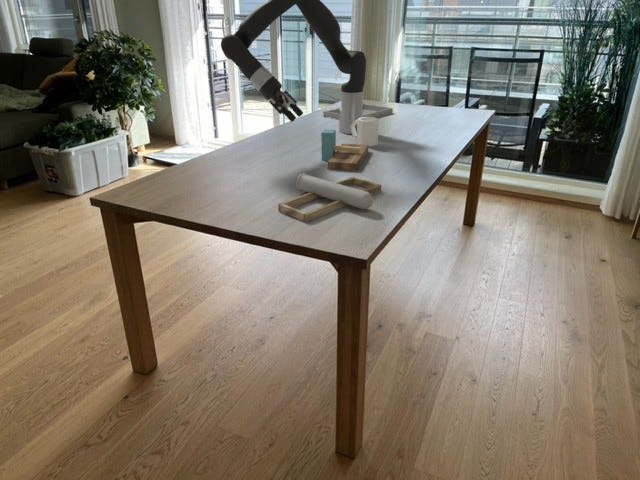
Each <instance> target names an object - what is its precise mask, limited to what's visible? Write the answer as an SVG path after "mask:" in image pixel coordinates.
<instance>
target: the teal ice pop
mask: <svg viewBox="0 0 640 480" xmlns="http://www.w3.org/2000/svg"><path fill="white" fill-rule="evenodd" d="M336 133H337V131H336V129H328V128H327V129H326V128H325V129H323V130H322V131H321V139H320V140H321V141H320V142H321V161H327V162H328V160H329V159H330V158H331V157H332V156H333V154H334V153H335V152H336V151H337V150H341V151H356V153H358V152H360V148H361V147H349V146H341V145H336V142H337V137H336V136H337V135H336Z"/></svg>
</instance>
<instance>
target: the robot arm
mask: <svg viewBox="0 0 640 480" xmlns="http://www.w3.org/2000/svg"><path fill="white" fill-rule="evenodd" d="M295 5H296V6H297V8H298V9H299V11H300V12H301V14H302V16H303V18H304V19H305V20H306V22H307V23H308V24H309V26H310V28H311V29H312V31H313V32H314V33H315V35H316V36H317V38H318V39H319V40H320V41H321V43H322V44H323V46H324V47H325V49H326V50H327V52H328V53H329V54H330V56H331V59H332V60H333V62H334V64H335V66H336V68H337V69H338V70H339V71H340V73H342V74H346V75H349V76H350V77H349V80H348V81H346V82H344V83H342V84H341V89H340V91H341V92H340V93H341V94H340V97H341V98H340V99H341V100H340V104H341V105H340V108H341V109H340V110H339V119H338V120H339V121H338V122H339V123H338V124H339V125H338V126H339V127H338V128H339V130H338V131H339V132H341V133H342V134H346V135H350V134H351V135H352V132H351V128H350V126H351V124H352V123H353V122H354V121H355V120H358V119H359V118H361V117H362V115H363V111H364V109H363V104H364V103H363V102H364V87H365V82H366V71H367V70H366V69H367V58H366V55H365V53H364V52H363V51H361V50H349V49H348V48H346V47H345V45H344V44H343V43H342V41H341V26H340V23H339V22H338V20H337V19H336V17H335V15H334V14H333V12H332V11H331V10H330V9H329V7H327V6H326V4H324V2H322V1H321V0H268V1H267V2H265V3H263V4H261V5H259V6H258V7H256V8H255V9H254V10H252V11H251V12H250V13H249V14H248V15H247V16H246V17H245V18H244V19H243V20H242V21H241V22H240V24H239V25H238V29H237V30H236V32H235V33H234V34H232V33H231V34H226V35H224V36H223V38H222V39H221V42H220V47H221V50H222V52H223V55H224V56H225V58H226V59H228V60H230V61H232V62H233V64H235V65H236V66H237V67H238V69H239V70H240V72H241V73H242V74H243V75H244V77H246V78H247V80H248V81H249V82H250V83H251V84H252V86H253V88H255V89H256V90H257V91H258V93H260V95H261V96H263V98H264V99H265V100H267V101H268V102H269V104H270V105H271V106H272V107H273V108H274V110H276V112H278V113H279V115H285V117H286V118H287V119H288V120H289V121H290V122H291V123H293V122H294V121H295V120H296V119H297V117H300V118H301V117H302V115H303V114H304V112H303V110H301V108H300V107H299V106H298V105H297V103H298V102H297V100H296V99H295V98H294V97H293V96H292V95H291V94H290V93H289V92H288V90H284V91H282V90H281V89H282V88H283V85H282V83H281V82H280V81H279V80H278V79H277V78H276V76H274V75H273V73H272V72H271V71H270V70H268V69H267V68H266V67H265V66H264V65H263V64H262V62H261V61H259V60H258V59H257V58H256V57H255V56H254V55H253V54H252V53H251V51H250V49H249V48H250V46H252V44H253V42H254V41H255V40H256V39H257V38H258V37H260V36H261V34H263V33H264V32H265V31H266V29H268V27H269V26H271V25H272V23H274V21H276V20H278V18H280V17H281V16H282V15H283V14H285V13H286V12H287V11H289V10H290V9H292V8H293V7H294V6H295ZM290 109H291V110H292V111H293V112H292V111H291V110H290ZM295 114H296V116H295ZM355 129H356V133H357V124H356V125H355Z"/></svg>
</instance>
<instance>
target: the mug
mask: <svg viewBox="0 0 640 480" xmlns="http://www.w3.org/2000/svg"><path fill="white" fill-rule="evenodd" d="M379 122H380V118H379V117H376V118H375V117H361V118H359V119H358V120H355V121H354V122H353V123H352V124H351V126H350V128H351V132H352V134H351V137H353V138H356V144H358V145H368V147H374V146H377V145H378V143H379V141H378V140H379ZM356 124H357V133H356V129H355V125H356Z"/></svg>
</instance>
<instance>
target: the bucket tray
mask: <svg viewBox="0 0 640 480" xmlns="http://www.w3.org/2000/svg"><path fill="white" fill-rule="evenodd" d="M340 109H341V107H338V108H334V109H329V110H328V109H327V110H324V111H322V113H323V115H322V116H327V117H326V118H328V117H331V118H330V119H333V118H335V120H339V114H337V113H339V110H340ZM363 110H369V111H373V112H369V113H366V114H362V117H375V118H379V117H383V116H387V115H391V114H393V112H394V109H393V107H387V106H381V105H375V104H370V103H369V104H367V103H363Z"/></svg>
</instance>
